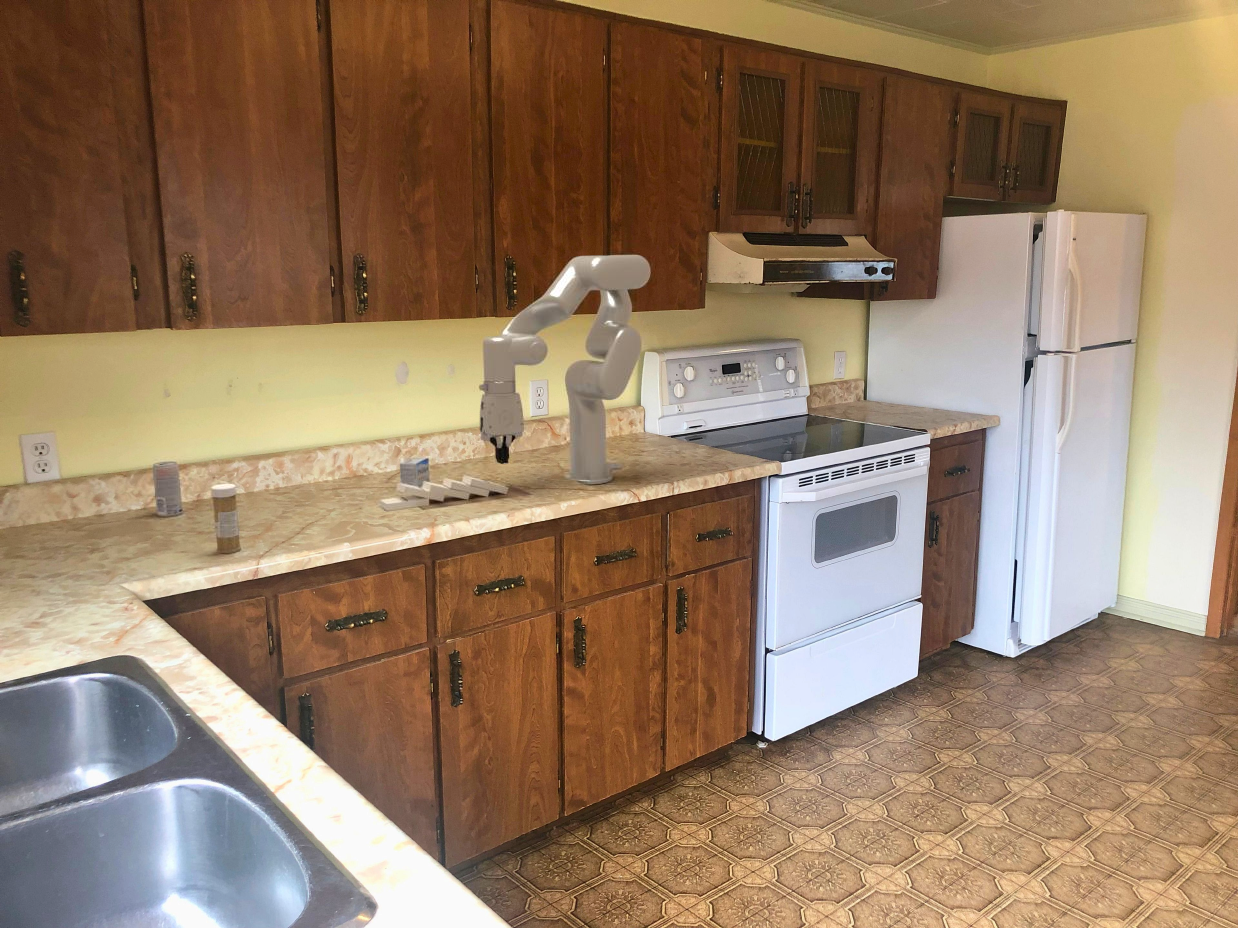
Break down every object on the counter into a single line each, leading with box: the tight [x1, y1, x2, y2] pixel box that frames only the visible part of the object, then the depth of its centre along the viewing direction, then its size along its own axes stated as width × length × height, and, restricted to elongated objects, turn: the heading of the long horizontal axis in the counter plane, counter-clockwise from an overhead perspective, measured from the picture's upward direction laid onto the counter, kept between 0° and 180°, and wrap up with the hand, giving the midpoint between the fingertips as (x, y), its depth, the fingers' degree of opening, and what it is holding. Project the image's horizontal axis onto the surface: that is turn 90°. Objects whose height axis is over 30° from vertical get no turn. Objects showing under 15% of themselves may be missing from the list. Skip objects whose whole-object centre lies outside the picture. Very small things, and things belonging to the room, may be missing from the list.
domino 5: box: [461, 474, 508, 494], centre depth 234 cm, size 2×5×10 cm
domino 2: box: [396, 482, 445, 501], centre depth 226 cm, size 2×5×10 cm
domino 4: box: [442, 477, 490, 497], centre depth 232 cm, size 2×5×10 cm
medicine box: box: [399, 457, 431, 487], centre depth 240 cm, size 8×4×9 cm, turn 168°
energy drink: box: [151, 461, 183, 518], centre depth 222 cm, size 5×5×12 cm
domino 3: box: [422, 481, 470, 500], centre depth 229 cm, size 2×5×10 cm
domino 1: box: [379, 495, 429, 512], centre depth 224 cm, size 2×5×10 cm
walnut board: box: [417, 484, 533, 511], centre depth 233 cm, size 28×12×1 cm, turn 122°
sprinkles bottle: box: [210, 483, 242, 554], centre depth 192 cm, size 5×5×14 cm
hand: (502, 462), depth 236 cm, fingers closed
